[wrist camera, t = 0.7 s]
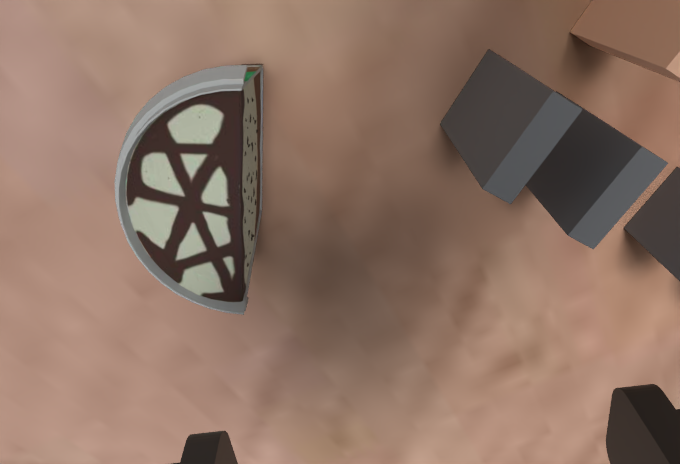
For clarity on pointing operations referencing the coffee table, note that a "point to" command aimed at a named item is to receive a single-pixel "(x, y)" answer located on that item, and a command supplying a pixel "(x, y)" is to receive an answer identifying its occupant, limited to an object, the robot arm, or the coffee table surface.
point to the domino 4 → (661, 224)
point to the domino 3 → (593, 178)
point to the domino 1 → (506, 125)
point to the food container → (197, 184)
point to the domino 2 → (635, 32)
